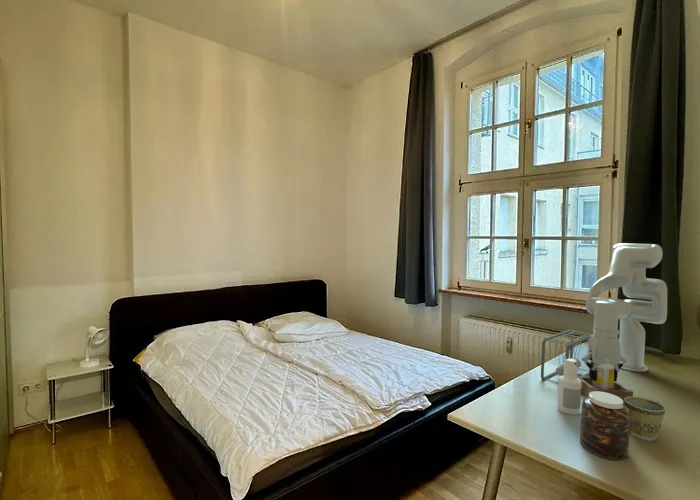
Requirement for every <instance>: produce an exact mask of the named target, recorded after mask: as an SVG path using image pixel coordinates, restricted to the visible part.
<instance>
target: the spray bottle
mask: <svg viewBox="0 0 700 500" xmlns="http://www.w3.org/2000/svg"><path fill="white" fill-rule="evenodd" d="M564 363H565V365H564V375H563V376H560V375H559V377H558V383H559V384H558V387H557V389H558V390H557V409H558V411H559V412H561V413H563V414H566V415H570V416H577V415H579V414H580V413H581V404H582V402H581V399H582V394H581V380H580V379H578V378H577V376H578V369H577V365H576V363H577V361H576V360H574V358H573V359H570V357H569V359H566V358H565V359H564Z"/></svg>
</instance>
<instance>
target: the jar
mask: <svg viewBox="0 0 700 500" xmlns="http://www.w3.org/2000/svg"><path fill="white" fill-rule="evenodd" d="M580 413H581V414H580V430H579V431H580V432H579V433H580V434H579V436H580V437H579V442H580V445H581V446H582V448H583V449H585V450H586V451H588V452H590V453H591V454H593V455H595V456H597V457H600V458H603V459H607V460H611V461H624V460H627V458H628V457H629V450H630V449H629V448H630V447H629V446H630V445H629V444H630V412H629V409H628V408H627V407H626V406H625V405H623V400H622V399H621V398H619V397H618V396H615V395H613V394H610V393H606V392H600V391H593V392H590V393H589V397H584V398H583V399H582V402H581V409H580Z"/></svg>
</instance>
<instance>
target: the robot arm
mask: <svg viewBox="0 0 700 500" xmlns="http://www.w3.org/2000/svg"><path fill="white" fill-rule="evenodd" d="M662 259H663V248H662V247H661V246H660V245H659V244H655V243H654V244H653V243H631V242H630V243H628V242H627V243H626V242H621V243H616V244H614V245H613V246H612V256H611V259H610V262H609V263H610V264H609V265H608V266H609V267H608V271H607V274H606V275H605V276H603V277H601V278H600V279H598V280H597V281H596V282H594V284H592V286H591V287H590V289H589V291H588V295H587V298H586V301H585V309H586V311H587V312H588V313H589V314H590V315H593V330H592V331H593V333H592V334H593V335H591V337H590V338H589V339H588V343H587V344H588V345H587V353H586V354H585V355H584V356H582V357H581V361H582V362H583V363H584V364H585V366H586V367H588V371H589V376H588V377H590V378H591V379H592V380H593V381H596V379H597V371H596V370H595V369H596V367H597V366H598V364H605V363H606V362H605V360H606V359H607V358H609V359H610V361H609V364H613V365H614V381H615V382H616V381H617V380H618V373H619V371H620V370H621V369H622V370H625V371H626V370H627V371H630V372H639V373H640V372H641V373H644V372H647V371H648V370H649V368H648V366H647V365H645V348H646V347H645V345H646V330H645V328H644V326H643V325H642V324H641V323H642V322H643V323H650V324H655V325H661V324H665V322H666V321H667V316H668V286H667V284H666V282H665V281H664V280H663V279H658V278H650V277H649V278H648V277H646V272H647V271H646V270H647V269H652V268H653V269H654V268H655V267H657V265H659V264H660V262H662ZM618 288H622V293H623V295H624V296H625V297H627V298H629V299H627V298H626V299H620V298H614V297H605V296H600V295H601V294H602V293H604V292H606V291H609V290H614V289H618ZM618 327H619V329H618ZM617 382H618V381H617Z"/></svg>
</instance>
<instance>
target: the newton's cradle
mask: <svg viewBox="0 0 700 500" xmlns="http://www.w3.org/2000/svg"><path fill="white" fill-rule="evenodd" d="M575 333H576V335H578V336H575ZM577 333H580V336H579V334H577ZM581 334H584V335H581ZM569 335H570V337H569ZM591 335H593V333H587V332H583V331H577V330H573V329H572V328H571V329H567V330H565V331H562V332H559V333H556V334H553V335H550V336H548V337H546V338H544V339H543V340H542V342H541V356H540V357H541V360H540V362H541V363H540V378H541V380H542V381H549V382H551V383H555V384H558V385H559V381H555V380H551V379H550V378H552V377H554V376H555V374H556V375H558V376H559V377H560V376H563V375H564V365H565V359H569V358H570V359H574V360H576V361H577V363H576V365H577V370H582V371H585V372H587V373H584V374H583V375H582V376H585V377H589V369H584V368H580V367H581V366H582V362H581V361H580V360H579V355H580V351H581V347H582V345H583V344H582V343H583V342H584V341H587V340H590V337H591ZM566 337H567V340H566ZM575 337H577V338H575ZM562 338H563V339H562ZM555 340H556V341H555ZM558 340H559V341H560V342H559V341H558ZM564 340H566V342H564V343H563V342H562V341H564ZM547 341H548V342H552V343H555V344H556V348H557V349H559V347H558V344H560V345H561V347H563V345H565V354H564V352H563V349H561V352H562V354H564V356H562V359H563V361H562V365H561V361H560V359H558V362H559V364H560V365H559V366H557V367H556V368H555V371H553V372H551V373H549V374H547V375H544V374H545V357H546V356H545V354H546V353H545V351H546V350H545V349H546V342H547ZM580 343H581V344H580ZM579 344H580V347H579V351H578V355H577V350H578V346H579ZM575 345H576V346H577V347H576V349H575ZM575 350H576V351H575ZM557 354H558V355H557V356H560V354H559V351H557ZM573 355H574V358H573ZM576 355H577V358H576ZM553 375H554V376H553ZM551 376H552V377H551ZM549 377H550V378H549ZM547 378H548V379H547Z"/></svg>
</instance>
